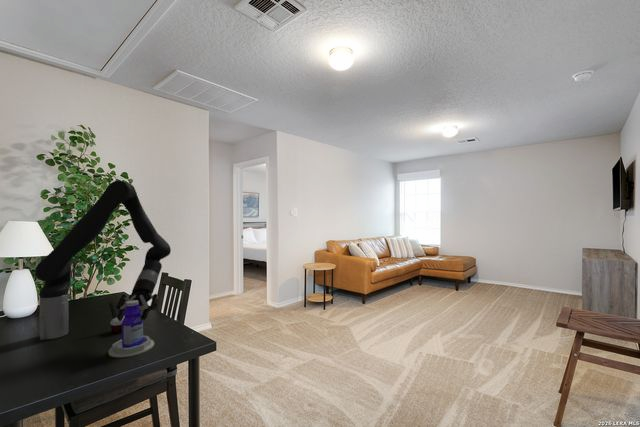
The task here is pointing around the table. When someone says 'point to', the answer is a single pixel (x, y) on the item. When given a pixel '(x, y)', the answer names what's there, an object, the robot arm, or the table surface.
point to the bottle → (132, 325)
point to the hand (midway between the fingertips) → (130, 319)
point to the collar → (121, 352)
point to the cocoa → (115, 321)
